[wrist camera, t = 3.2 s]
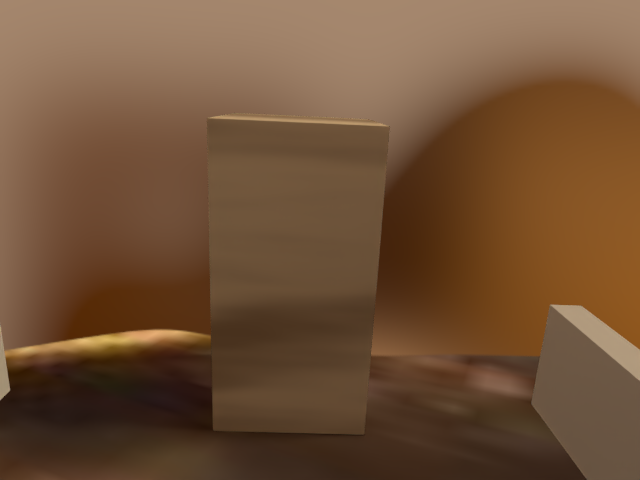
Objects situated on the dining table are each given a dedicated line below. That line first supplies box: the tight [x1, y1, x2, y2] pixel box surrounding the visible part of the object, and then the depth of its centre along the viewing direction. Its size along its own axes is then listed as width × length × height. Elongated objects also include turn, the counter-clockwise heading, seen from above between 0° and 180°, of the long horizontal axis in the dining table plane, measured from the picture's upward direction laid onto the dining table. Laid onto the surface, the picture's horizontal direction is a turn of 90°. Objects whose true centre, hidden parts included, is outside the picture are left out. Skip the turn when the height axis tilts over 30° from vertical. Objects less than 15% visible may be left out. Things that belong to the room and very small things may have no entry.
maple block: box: [207, 113, 390, 435], centre depth 20 cm, size 6×6×12 cm
